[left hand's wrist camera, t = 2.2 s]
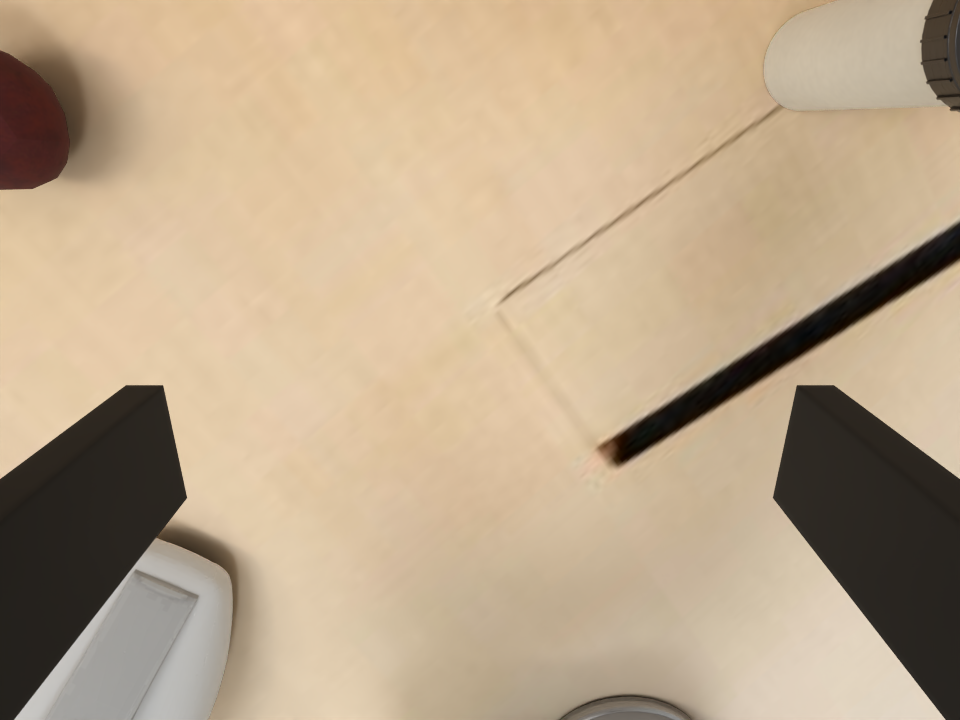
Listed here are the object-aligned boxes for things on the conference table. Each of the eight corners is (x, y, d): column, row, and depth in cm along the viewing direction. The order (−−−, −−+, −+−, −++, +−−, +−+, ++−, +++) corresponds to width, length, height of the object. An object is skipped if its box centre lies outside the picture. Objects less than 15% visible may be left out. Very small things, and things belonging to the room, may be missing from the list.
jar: (743, 69, 35) (926, 33, 21) (815, -14, 34) (1066, -115, 19) (804, 130, 37) (1015, 136, 22) (876, 53, 35) (1154, 5, 21)
